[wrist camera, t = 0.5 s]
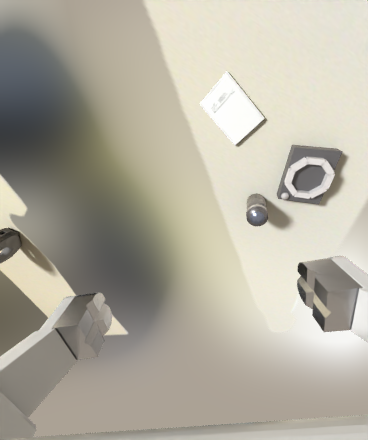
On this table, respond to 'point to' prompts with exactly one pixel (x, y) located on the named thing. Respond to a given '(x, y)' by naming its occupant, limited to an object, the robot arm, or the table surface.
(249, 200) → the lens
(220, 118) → the external hard drive
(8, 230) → the handheld device
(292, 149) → the octagonal socket base
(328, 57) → the table surface
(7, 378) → the robot arm
